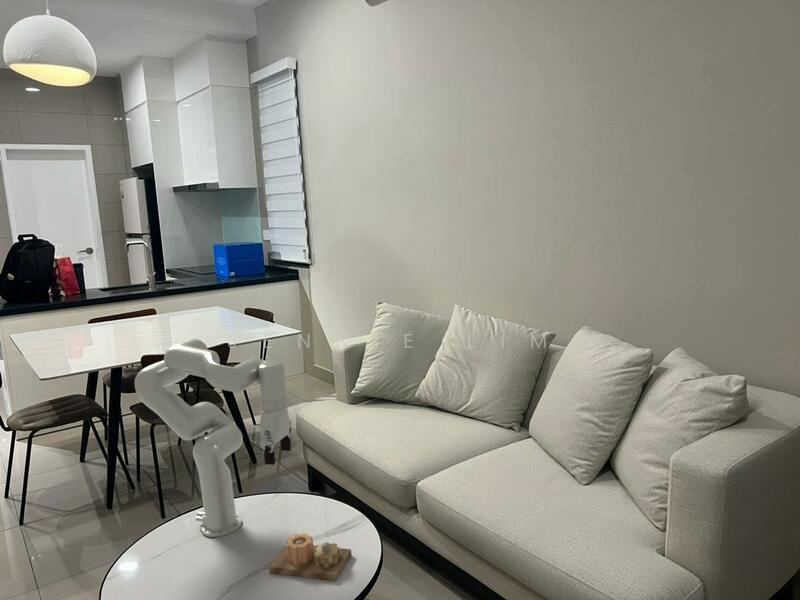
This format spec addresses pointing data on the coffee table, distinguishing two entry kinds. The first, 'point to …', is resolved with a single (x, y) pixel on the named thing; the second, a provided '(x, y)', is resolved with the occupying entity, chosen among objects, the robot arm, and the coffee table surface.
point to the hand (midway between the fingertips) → (278, 457)
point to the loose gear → (299, 549)
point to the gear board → (314, 563)
